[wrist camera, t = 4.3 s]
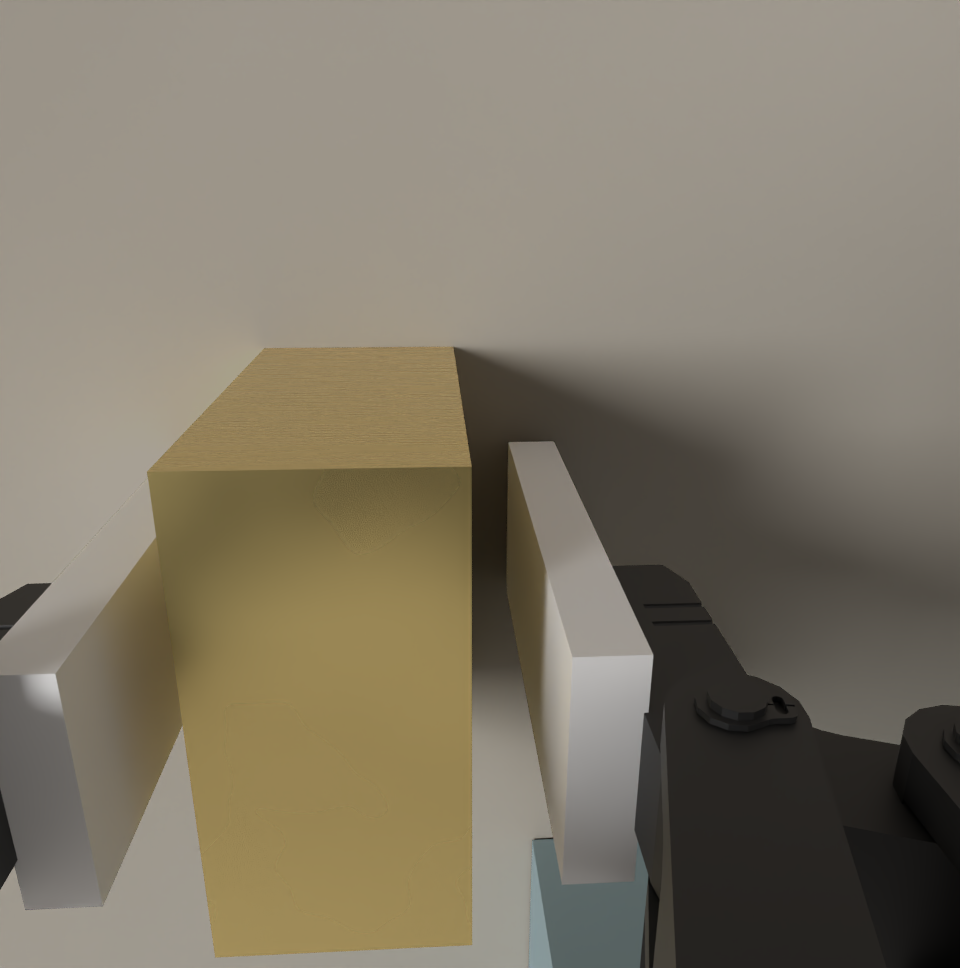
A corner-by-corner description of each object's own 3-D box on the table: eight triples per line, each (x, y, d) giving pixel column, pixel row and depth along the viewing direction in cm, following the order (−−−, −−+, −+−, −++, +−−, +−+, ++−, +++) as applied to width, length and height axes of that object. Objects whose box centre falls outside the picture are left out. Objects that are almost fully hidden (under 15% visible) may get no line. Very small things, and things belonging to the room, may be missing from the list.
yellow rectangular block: (265, 348, 13) (147, 472, 8) (453, 346, 14) (472, 467, 8) (292, 673, 15) (215, 956, 10) (455, 668, 16) (471, 945, 10)
